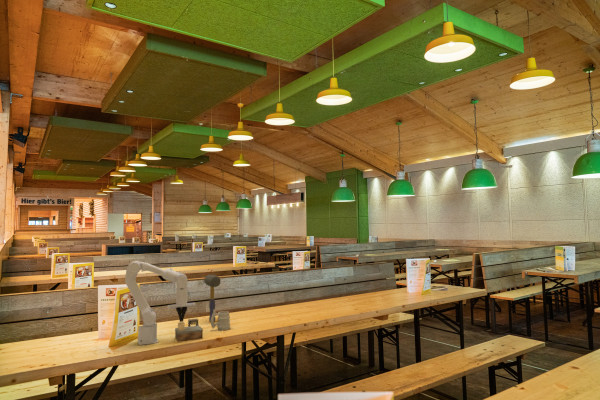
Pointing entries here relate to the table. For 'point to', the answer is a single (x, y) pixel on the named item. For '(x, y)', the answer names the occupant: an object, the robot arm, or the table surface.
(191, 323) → the latch bar
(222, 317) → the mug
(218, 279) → the rubber mallet
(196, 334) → the toolbox
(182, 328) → the lid
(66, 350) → the table surface
